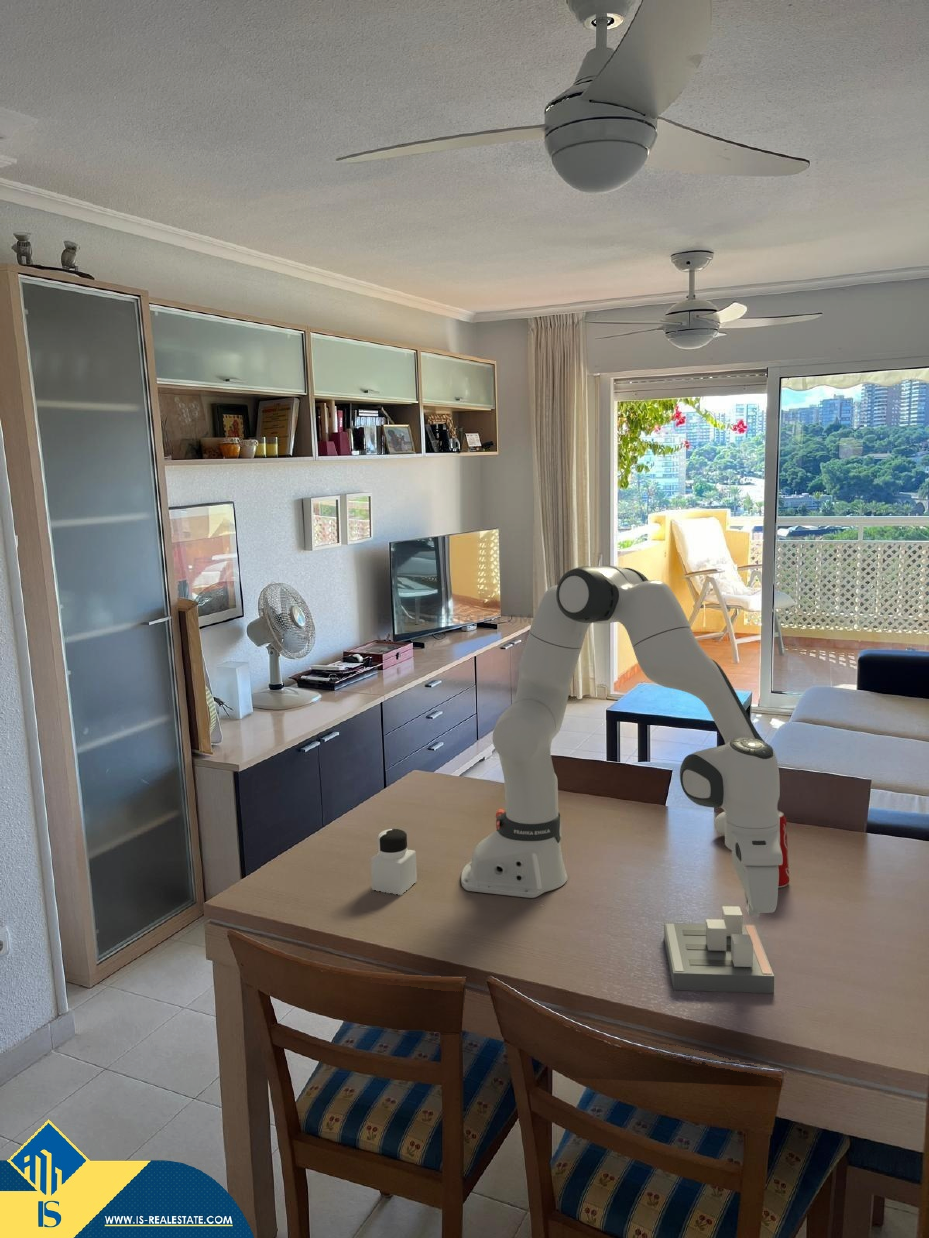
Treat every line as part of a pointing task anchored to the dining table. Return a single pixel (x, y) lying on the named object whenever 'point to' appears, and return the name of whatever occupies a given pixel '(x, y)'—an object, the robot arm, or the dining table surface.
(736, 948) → the front handle
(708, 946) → the beige square block
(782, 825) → the beverage can
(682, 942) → the grey slider board
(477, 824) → the dining table surface
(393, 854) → the medicine bottle
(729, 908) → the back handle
